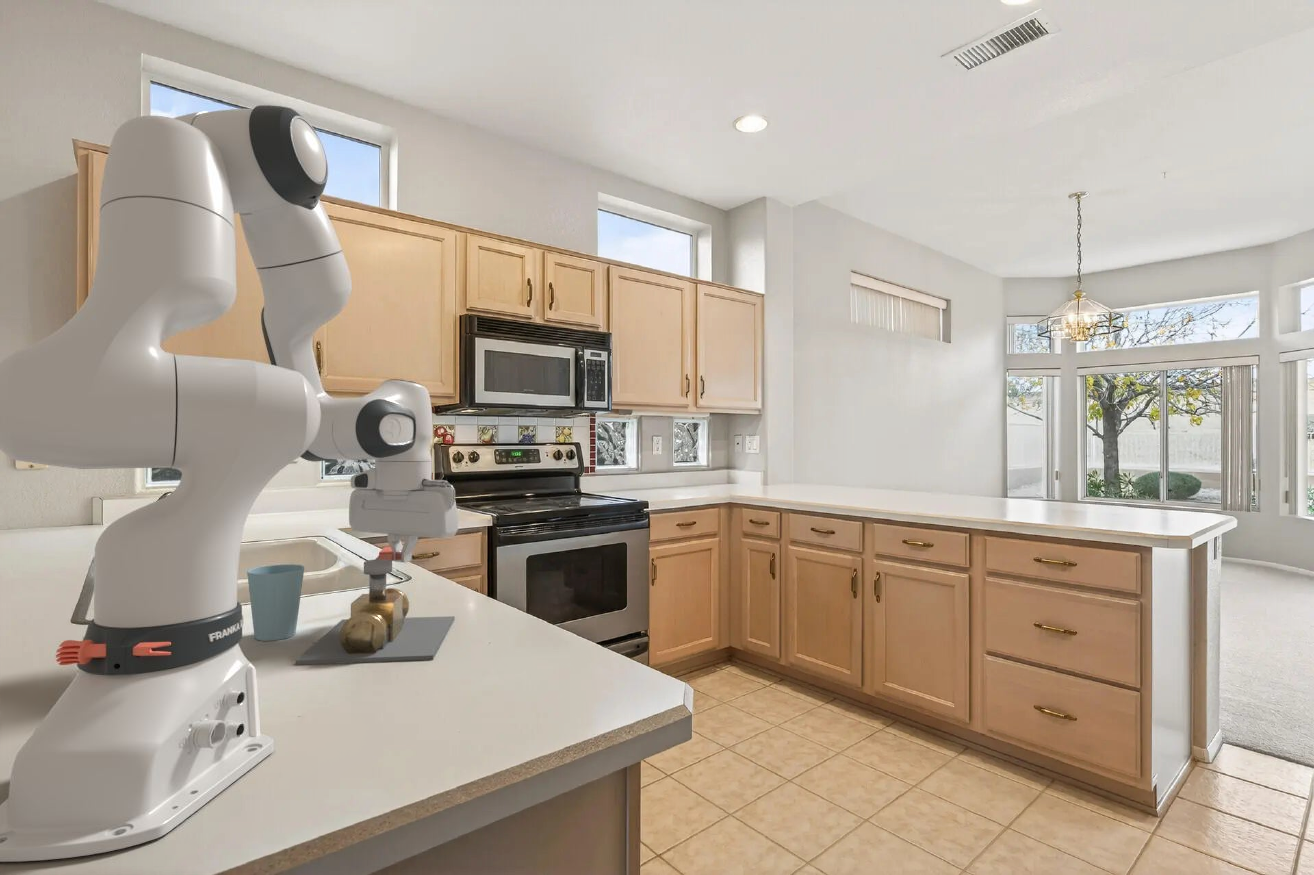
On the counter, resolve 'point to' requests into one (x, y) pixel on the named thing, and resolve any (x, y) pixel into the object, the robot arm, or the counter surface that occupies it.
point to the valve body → (374, 618)
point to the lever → (380, 563)
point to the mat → (410, 644)
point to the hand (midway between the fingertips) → (402, 561)
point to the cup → (275, 600)
